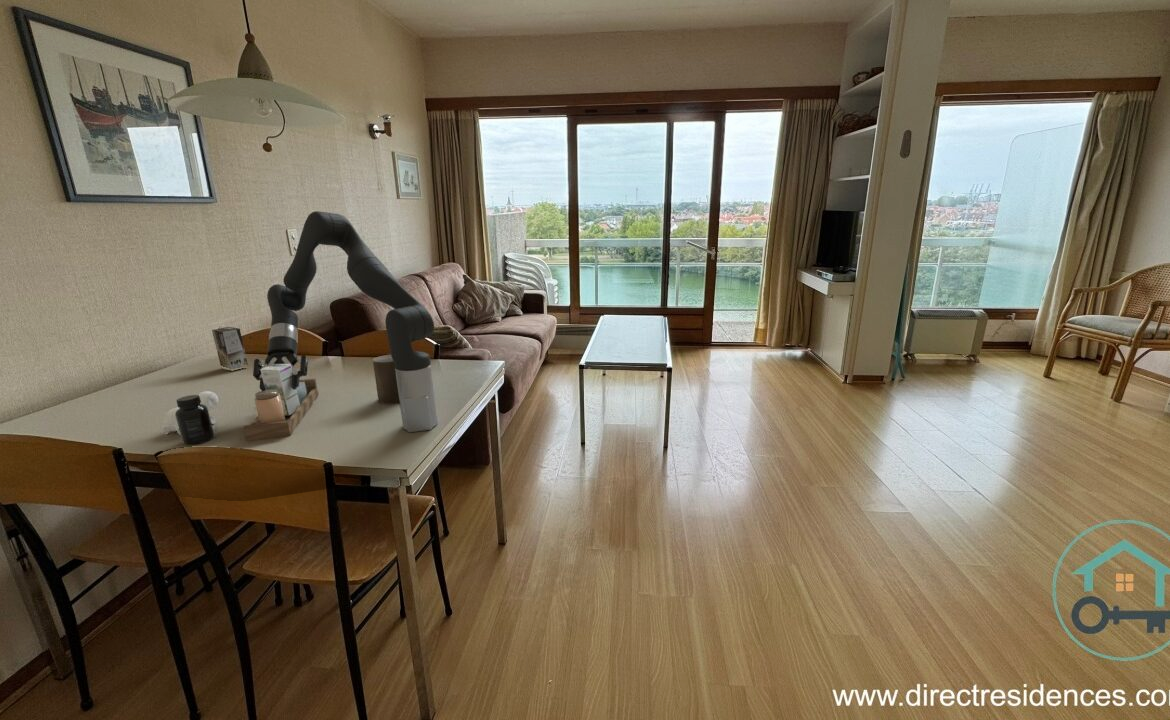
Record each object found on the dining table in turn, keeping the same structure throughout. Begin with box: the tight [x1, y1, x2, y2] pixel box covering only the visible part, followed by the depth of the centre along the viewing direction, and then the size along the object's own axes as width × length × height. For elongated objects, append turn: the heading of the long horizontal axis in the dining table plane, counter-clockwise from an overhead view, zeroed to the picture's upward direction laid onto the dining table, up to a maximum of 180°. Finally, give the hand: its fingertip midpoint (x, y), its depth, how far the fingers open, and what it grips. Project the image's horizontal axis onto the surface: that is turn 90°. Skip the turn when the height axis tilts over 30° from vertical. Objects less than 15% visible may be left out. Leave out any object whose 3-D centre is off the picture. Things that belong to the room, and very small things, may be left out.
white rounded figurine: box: [160, 390, 219, 436], centre depth 140 cm, size 9×8×15 cm
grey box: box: [296, 382, 307, 405], centre depth 156 cm, size 6×8×7 cm
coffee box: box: [211, 326, 249, 369], centre depth 194 cm, size 9×6×16 cm
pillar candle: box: [372, 354, 400, 405], centre depth 156 cm, size 10×10×15 cm
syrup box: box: [261, 364, 300, 416], centre depth 144 cm, size 6×6×14 cm
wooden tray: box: [242, 378, 320, 442], centre depth 146 cm, size 32×10×6 cm, turn 15°
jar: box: [253, 389, 287, 424], centre depth 135 cm, size 6×6×11 cm
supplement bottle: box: [175, 394, 215, 446], centre depth 130 cm, size 7×7×12 cm
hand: (279, 389), depth 143 cm, fingers open, 7 cm apart
